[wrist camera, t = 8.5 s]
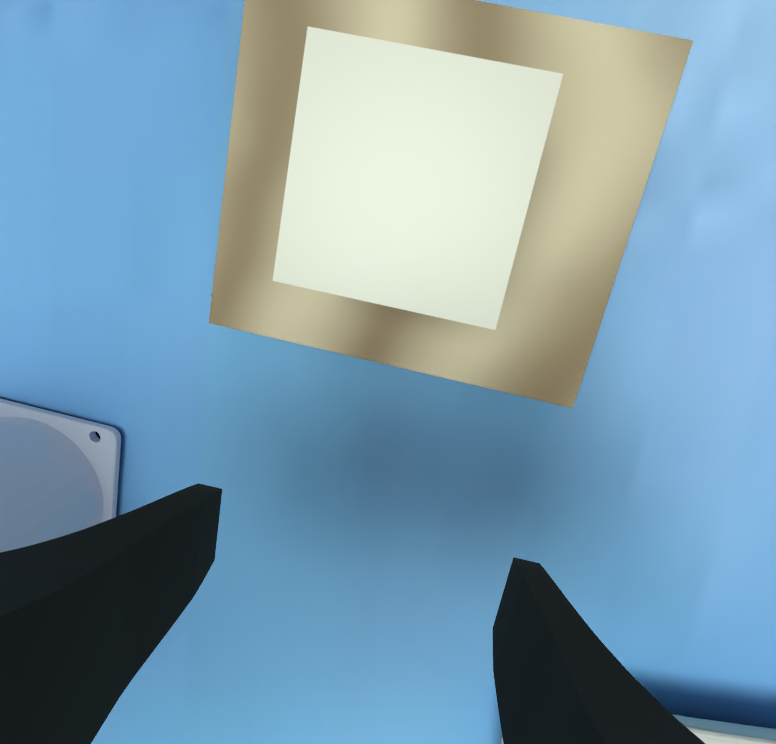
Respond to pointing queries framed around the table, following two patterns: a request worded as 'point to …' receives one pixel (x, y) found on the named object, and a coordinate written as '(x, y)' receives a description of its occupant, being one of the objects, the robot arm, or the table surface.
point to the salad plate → (726, 732)
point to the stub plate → (545, 210)
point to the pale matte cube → (410, 175)
